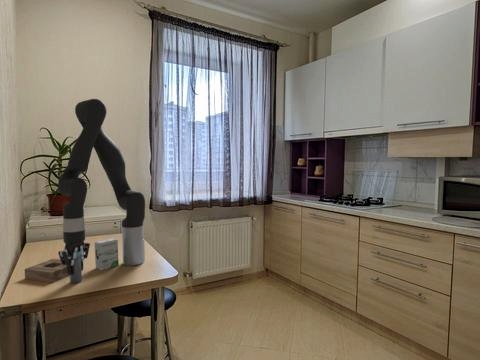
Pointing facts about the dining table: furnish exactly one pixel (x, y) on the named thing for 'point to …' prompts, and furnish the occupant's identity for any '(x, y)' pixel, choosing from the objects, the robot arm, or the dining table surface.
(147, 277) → the dining table surface
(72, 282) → the peg
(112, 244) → the ink box
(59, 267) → the socket
